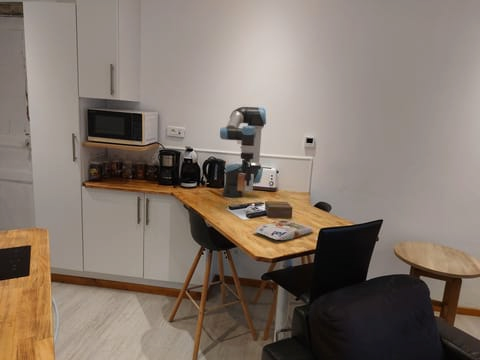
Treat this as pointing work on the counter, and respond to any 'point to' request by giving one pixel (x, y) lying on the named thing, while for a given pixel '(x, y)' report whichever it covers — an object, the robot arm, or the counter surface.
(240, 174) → the small box
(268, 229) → the dog food
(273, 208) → the walnut block
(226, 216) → the counter surface
